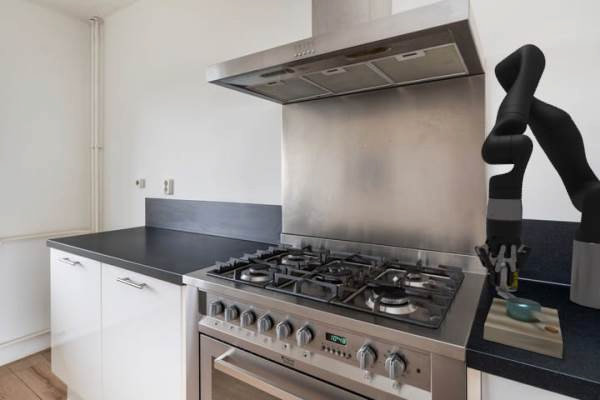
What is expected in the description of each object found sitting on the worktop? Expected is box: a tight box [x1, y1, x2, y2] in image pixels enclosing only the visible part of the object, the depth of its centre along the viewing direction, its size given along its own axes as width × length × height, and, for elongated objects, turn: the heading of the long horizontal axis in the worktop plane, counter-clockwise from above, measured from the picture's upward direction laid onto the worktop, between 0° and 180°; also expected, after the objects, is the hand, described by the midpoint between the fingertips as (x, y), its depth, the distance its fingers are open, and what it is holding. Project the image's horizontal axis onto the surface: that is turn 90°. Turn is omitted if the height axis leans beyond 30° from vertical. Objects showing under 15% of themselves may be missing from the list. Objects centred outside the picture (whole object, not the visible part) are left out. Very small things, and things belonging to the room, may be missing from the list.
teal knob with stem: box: [495, 265, 548, 322], centre depth 75 cm, size 17×6×9 cm, turn 177°
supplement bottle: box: [501, 260, 519, 293], centre depth 101 cm, size 6×6×10 cm
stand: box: [483, 297, 564, 359], centre depth 74 cm, size 20×13×4 cm, turn 144°
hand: (501, 285), depth 82 cm, fingers closed on teal knob with stem, 2 cm apart
